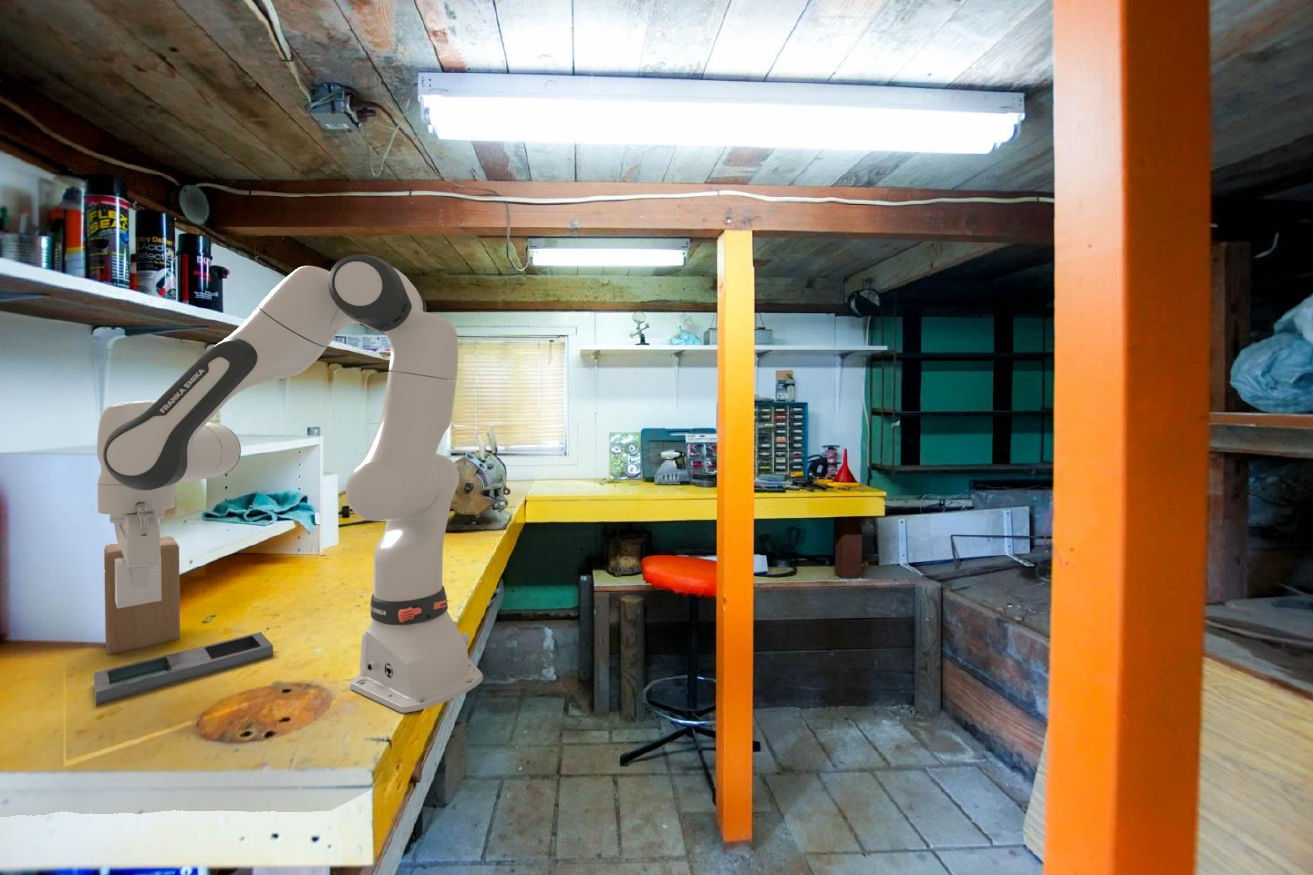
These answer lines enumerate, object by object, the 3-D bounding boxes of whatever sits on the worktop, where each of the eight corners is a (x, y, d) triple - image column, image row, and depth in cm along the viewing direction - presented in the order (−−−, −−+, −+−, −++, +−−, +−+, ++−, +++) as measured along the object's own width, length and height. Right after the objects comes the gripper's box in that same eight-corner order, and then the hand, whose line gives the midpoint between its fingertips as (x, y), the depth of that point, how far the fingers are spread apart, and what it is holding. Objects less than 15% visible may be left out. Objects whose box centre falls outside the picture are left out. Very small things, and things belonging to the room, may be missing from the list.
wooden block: (105, 642, 99) (103, 542, 99) (175, 627, 107) (174, 534, 106) (106, 658, 93) (104, 551, 92) (180, 641, 100) (179, 542, 100)
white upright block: (161, 600, 83) (161, 558, 83) (117, 608, 79) (116, 564, 79) (157, 593, 86) (157, 553, 86) (115, 600, 83) (114, 558, 82)
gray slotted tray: (273, 659, 93) (272, 645, 93) (96, 709, 77) (95, 692, 76) (260, 644, 99) (260, 631, 99) (93, 688, 82) (93, 672, 82)
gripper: (173, 504, 78) (173, 592, 79) (157, 491, 91) (157, 566, 92) (113, 509, 73) (114, 603, 74) (106, 495, 87) (106, 574, 87)
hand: (138, 582), depth 83 cm, fingers closed on white upright block, 5 cm apart
